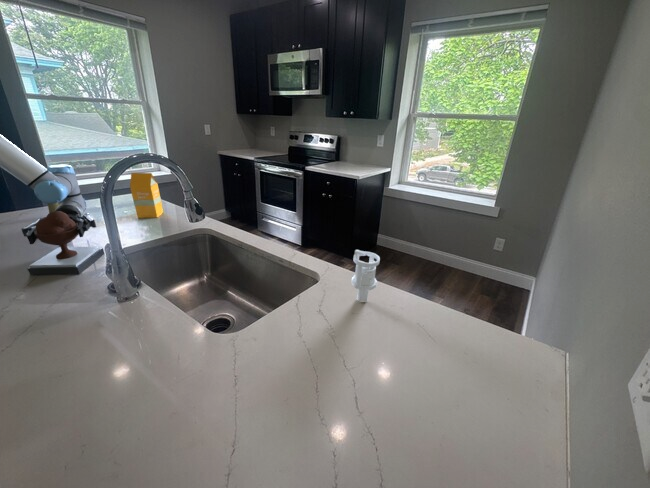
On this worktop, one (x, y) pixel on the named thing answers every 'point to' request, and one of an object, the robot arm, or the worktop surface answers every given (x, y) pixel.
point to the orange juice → (146, 195)
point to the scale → (66, 262)
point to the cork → (52, 207)
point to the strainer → (364, 274)
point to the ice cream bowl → (57, 232)
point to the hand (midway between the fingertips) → (55, 236)
